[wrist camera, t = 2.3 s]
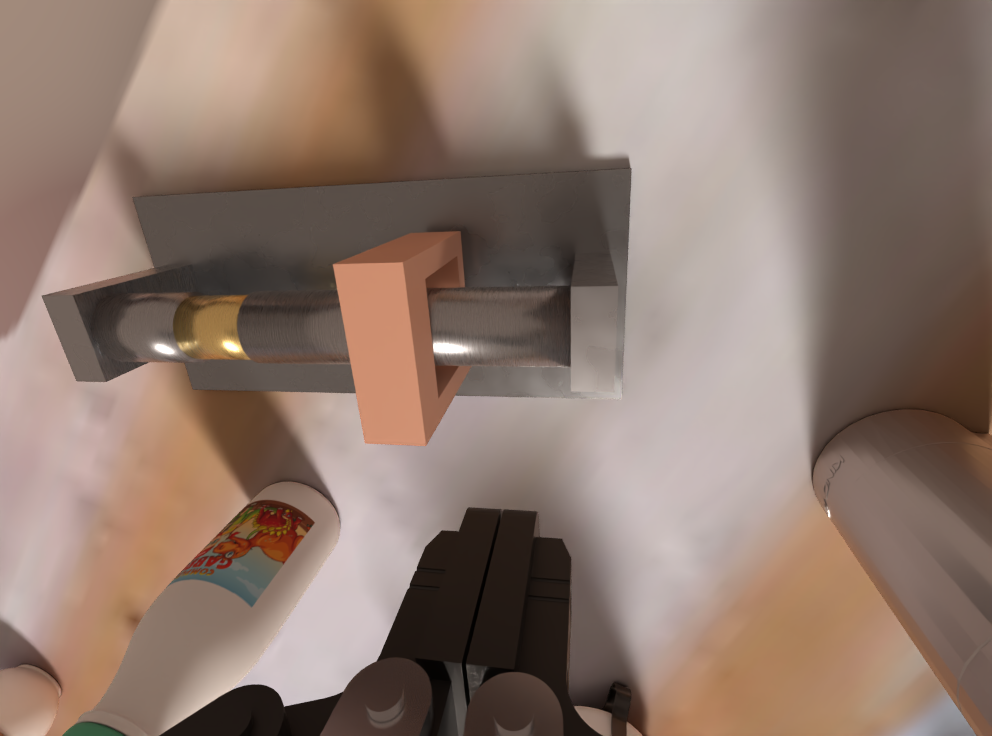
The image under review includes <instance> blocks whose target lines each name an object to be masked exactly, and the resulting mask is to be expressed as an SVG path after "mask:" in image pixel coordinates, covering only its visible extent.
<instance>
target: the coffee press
mask: <svg viewBox="0 0 992 736" xmlns="http://www.w3.org/2000/svg"><path fill="white" fill-rule="evenodd" d="M630 701H631V691H630V689H628V688H626V687H624V686H622V685H619V684H617V683H613V684H612V685H611V688H610V691H609V694H608V697H607V701H606V703H605V706H604V708H603V709H602V710H600V709H596V708H591V707H584V706H574V708H575V709H576V711H577V712H578V714H579V715H580V717H581V718H582V719H583V720H584V721H585V722H586V723H587V724H588V725H589V726H590V727H591V728H592V729H594V730H595V731H596V732H598V733H599V734H601V735H603V736H642V734H641V733H640V732H639V731H638V730H637V729H636V728H634V727H633V726H632V725H631V724H629V723H628V722H627V716H628V711H629V706H630Z"/></svg>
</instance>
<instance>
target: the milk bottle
mask: <svg viewBox="0 0 992 736" xmlns="http://www.w3.org/2000/svg"><path fill="white" fill-rule="evenodd" d="M339 535H340V521H339V518H338V514H337V512H336V511H335V509H334V507H333V505H332V504H331V503H330V502H329V500H328V499H327V498H325V497H324V496H323V495H322V494H321V493H319V492H318V491H317V490H315V489H313V488H311V487H309V486H307V485H304V484H301V483H298V482H291V481H289V482H279V483H275V484H272V485H270V486H268V487H266V488H264V489H263V490H262V491H261V492H260V493H259V494H258V495H257V496H256V497H254V498H253V499H252V500H251V501H250V502H249V503H248V504H247V505H246V506H245V507H244V508H243V509H242V510H241V511H240V512H239V513H238V514H237V515H236V516H235V517H234V518H233V519H232V520H231V521H230V522H229V523H228V525H227V526H226V527H225V528H224V529H223V530H222V531H221V532H220V533H219V534H218V535H217V536H216V537H215V538H214V539H213V540H212V541H211V542H210V543H209V544H208V545H207V546H206V547H205V548H204V549H203V550H202V551H201V552H200V553H199V554H198V555H197V556H196V557H195V558H194V559H193V560H192V561H191V562H190V563H189V564H188V565H187V566H186V567H185V568H184V569H183V570H182V571H181V572H180V573H179V574H178V575H177V577H176V578H175V579H174V580H173V581H172V582H171V583H170V584H169V585H168V586H167V587H166V589H165V590H164V591H163V592H162V593H161V594H160V595H159V596H158V597H157V599H156V600H155V601H154V603H153V604H152V605H151V606H150V608H149V609H148V610H147V612H146V613H145V615H144V616H143V618H142V619H141V621H140V623H139V625H138V626H137V628H136V630H135V632H134V634H133V636H132V639H131V641H130V643H129V646H128V648H127V651H126V653H125V656H124V658H123V661H122V663H121V665H120V667H119V670H118V672H117V674H116V676H115V677H114V679H113V681H112V683H111V685H110V686H109V688H108V690H107V691H106V693H105V694H104V696H103V697H102V699H101V700H100V702H99V703H98V704H97V705H96V706H95V708H94V709H93V710H91V711H87V712H85V713H83V714H82V715H81V716H80V717H79V719H78V721H77V722H76V724H75V725H74V726H72V727H71V728H69V729H68V730H67V731H66V732H65V733H64V734H63V735H62V736H159V735H161V734H162V733H164V732H165V731H167V730H168V729H170V728H172V727H173V726H175V725H176V724H178V723H179V722H181V721H182V720H184V719H186V718H187V717H189V716H190V715H192V714H193V713H195V712H196V711H198V710H199V709H201V708H203V707H204V706H206V705H207V704H209V703H210V702H212V701H213V700H215V699H217V698H218V697H220V696H221V695H223V694H225V693H227V692H229V691H230V690H231V689H233V688H234V687H235V686H236V685H237V684H238V683H239V682H240V681H241V680H242V679H243V678H244V677H245V676H246V675H247V674H248V673H249V671H250V670H251V669H252V668H253V667H254V665H255V664H256V663H257V662H258V660H259V659H260V657H261V656H262V655H263V653H264V652H265V650H266V649H267V648H268V646H269V645H270V643H271V642H272V641H273V639H274V638H275V636H276V635H277V633H278V632H279V630H280V629H281V627H282V626H283V624H284V623H285V622H286V620H287V619H288V617H289V616H290V614H291V613H292V611H293V610H294V608H295V607H296V605H297V604H298V602H299V601H300V599H301V598H302V596H303V595H304V593H305V592H306V590H307V589H308V587H309V586H310V584H311V583H312V581H313V579H314V578H315V576H316V575H317V573H318V572H319V570H320V569H321V567H322V566H323V564H324V563H325V561H326V560H327V558H328V557H329V555H330V554H331V552H332V550H333V549H334V547H335V545H336V544H337V542H338V539H339Z"/></svg>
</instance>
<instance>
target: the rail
mask: <svg viewBox="0 0 992 736" xmlns="http://www.w3.org/2000/svg"><path fill="white" fill-rule="evenodd" d="M630 191H631V168H626V169H609V170H592V171H575V172H557V173H540V174H523V175H506V176H488V177H471V178H454V179H437V180H420V181H402V182H385V183H368V184H351V185H334V186H316V187H299V188H282V189H265V190H248V191H230V192H213V193H196V194H179V195H161V196H144V197H132V198H133V201H134V204H135V207H136V210H137V213H138V217H139V220H140V223H141V226H142V229H143V232H144V236H145V239H146V242H147V245H148V248H149V252H150V255H151V258H152V261H153V264H154V267H155V268H153V269H149V270H144V271H140V272H136V273H132V274H128V275H124V276H120V277H116V278H112V279H108V280H104V281H100V282H96V283H92V284H87V285H83V286H79V287H75V288H71V289H67V290H63V291H59V292H55V293H51V294H47V295H43V296H42V298H43V301H44V303H45V305H46V308H47V310H48V313H49V315H50V318H51V320H52V322H53V325H54V327H55V330H56V332H57V335H58V337H59V340H60V342H61V344H62V347H63V349H64V352H65V354H66V357H67V359H68V362H69V364H70V366H71V369H72V371H73V374H74V376H75V379H76V381H85V382H107V381H109V380H111V379H114V378H116V377H118V376H120V375H122V374H124V373H127V372H129V371H131V370H133V369H135V368H138V367H140V366H142V365H144V364H146V363H149V362H178V363H185V366H186V369H187V372H188V375H189V378H190V382H191V385H192V388H193V389H194V390H238V391H281V392H325V393H356V390H355V385H354V379H353V373H352V368H351V362H350V357H349V351H348V346H347V340H346V335H345V329H344V323H343V318H342V312H341V307H340V301H339V296H338V290H337V284H336V279H335V273H334V268H333V264H335V263H337V262H340V261H342V260H345V259H347V258H350V257H352V256H355V255H357V254H360V253H362V252H365V251H367V250H370V249H372V248H375V247H377V246H380V245H382V244H385V243H387V242H390V241H392V240H395V239H397V238H400V237H402V236H405V235H407V234H409V233H424V232H450V231H461V243H462V256H463V268H464V280H465V287H456V288H426V291H427V300H428V309H429V318H430V327H431V336H432V345H433V354H434V363H435V366H472V367H471V368H470V370H469V372H468V374H467V375H466V377H465V379H464V381H463V382H462V384H461V386H460V388H459V389H458V391H457V393H456V396H499V397H543V398H587V399H622V379H623V355H624V332H625V308H626V285H627V261H628V238H629V214H630Z"/></svg>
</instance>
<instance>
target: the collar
mask: <svg viewBox="0 0 992 736" xmlns="http://www.w3.org/2000/svg"><path fill="white" fill-rule="evenodd" d="M333 268H334V273H335V279H336V284H337V290H338V296H339V301H340V307H341V312H342V318H343V323H344V329H345V335H346V340H347V346H348V351H349V357H350V362H351V368H352V373H353V379H354V385H355V390H356V396H357V401H358V407H359V412H360V418H361V424H362V429H363V435H364V440H365V443H368V444H392V445H415V446H426V445H427V444H428V442H429V440H430V438H431V437H432V435H433V433H434V431H435V430H436V428H437V426H438V424H439V423H440V421H441V419H442V417H443V416H444V414H445V412H446V410H447V409H448V407H449V405H450V403H451V402H452V400H453V398H454V396H455V395H456V393H457V391H458V389H459V388H460V386H461V384H462V382H463V381H464V379H465V377H466V375H467V374H468V372H469V370H470V368H471V367H472V366H435V363H434V354H433V345H432V336H431V327H430V318H429V309H428V300H427V291H426V288H456V287H465V280H464V268H463V256H462V243H461V231H450V232H424V233H409V234H407V235H405V236H402V237H400V238H397V239H395V240H392V241H390V242H387V243H385V244H382V245H380V246H377V247H375V248H372V249H370V250H367V251H365V252H362V253H360V254H357V255H355V256H352V257H350V258H347V259H345V260H342V261H340V262H337V263H335V264H333Z"/></svg>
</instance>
